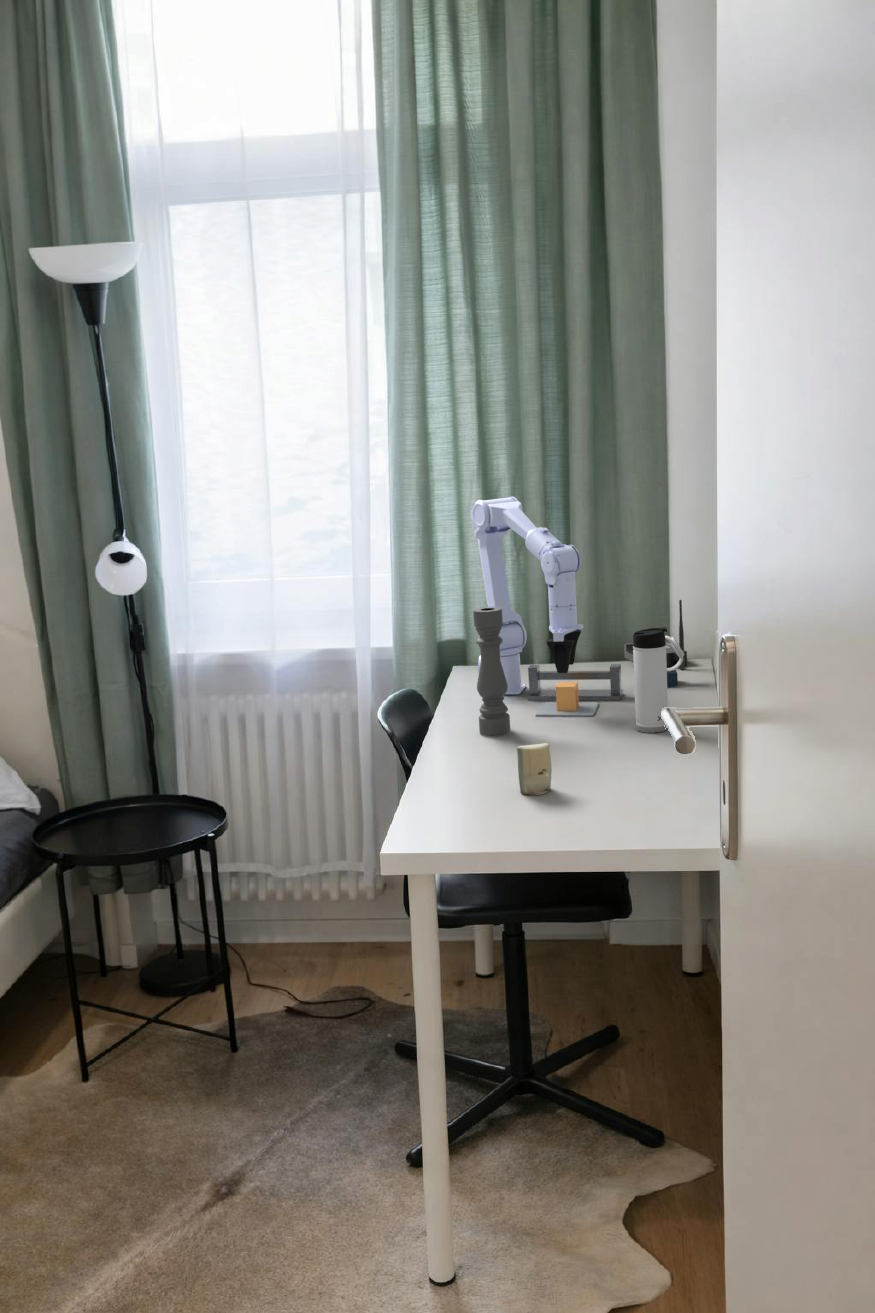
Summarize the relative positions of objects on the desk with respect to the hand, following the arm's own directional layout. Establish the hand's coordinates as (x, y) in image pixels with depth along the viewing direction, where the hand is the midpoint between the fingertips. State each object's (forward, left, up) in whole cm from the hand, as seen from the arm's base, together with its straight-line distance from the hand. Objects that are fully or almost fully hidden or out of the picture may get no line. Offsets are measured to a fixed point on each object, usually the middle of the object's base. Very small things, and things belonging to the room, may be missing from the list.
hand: (565, 668), depth 236 cm
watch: (+19, +23, -9) cm, 31 cm away
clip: (0, 0, -9) cm, 9 cm away
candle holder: (-12, -17, -9) cm, 23 cm away
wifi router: (+15, +45, -10) cm, 48 cm away
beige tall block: (+3, -52, -9) cm, 53 cm away
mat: (0, 0, -9) cm, 9 cm away
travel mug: (+19, -14, -9) cm, 25 cm away
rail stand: (0, +11, -9) cm, 14 cm away
